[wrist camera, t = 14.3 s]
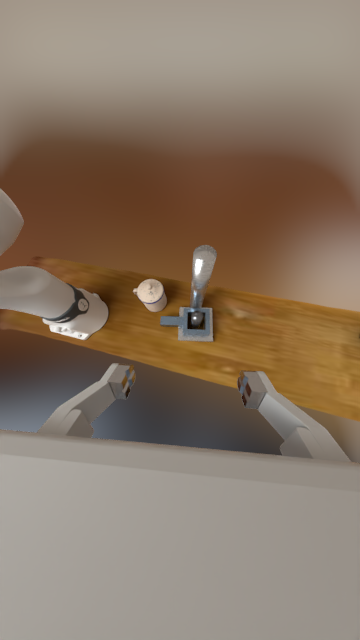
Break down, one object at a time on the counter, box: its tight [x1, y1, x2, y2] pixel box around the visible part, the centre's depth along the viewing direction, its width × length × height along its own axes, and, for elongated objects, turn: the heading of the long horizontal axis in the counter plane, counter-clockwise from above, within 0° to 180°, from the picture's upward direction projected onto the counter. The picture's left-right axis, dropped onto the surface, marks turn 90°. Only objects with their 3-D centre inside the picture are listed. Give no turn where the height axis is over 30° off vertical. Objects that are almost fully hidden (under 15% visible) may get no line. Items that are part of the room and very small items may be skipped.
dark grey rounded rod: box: [191, 311, 203, 329], centre depth 43 cm, size 3×3×10 cm
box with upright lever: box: [160, 245, 217, 342], centre depth 35 cm, size 18×15×26 cm
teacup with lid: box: [133, 279, 167, 312], centre depth 45 cm, size 12×9×12 cm
